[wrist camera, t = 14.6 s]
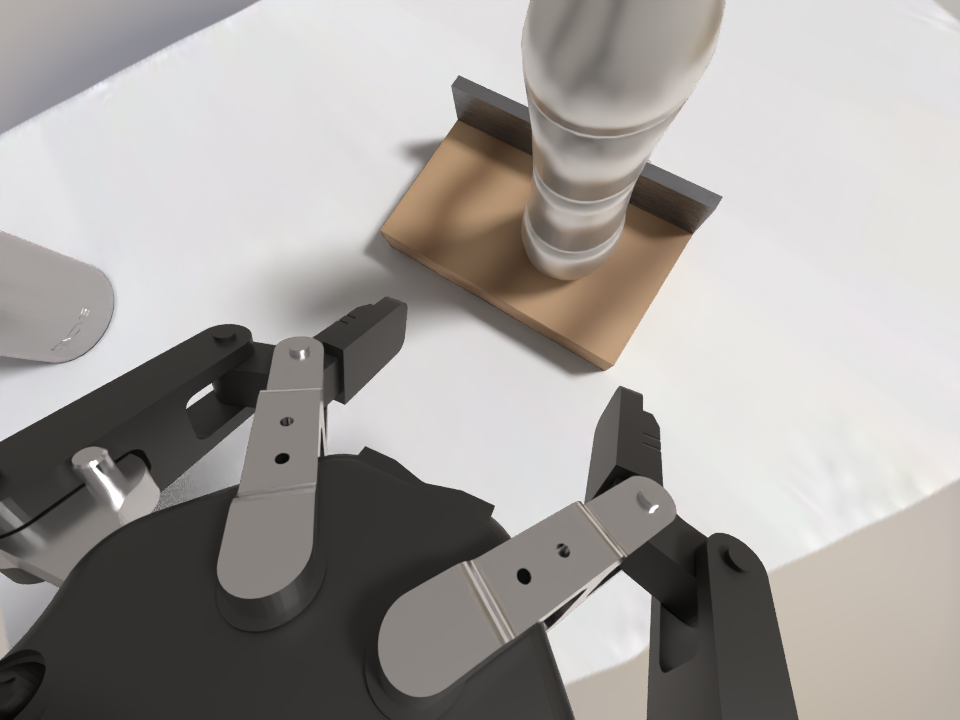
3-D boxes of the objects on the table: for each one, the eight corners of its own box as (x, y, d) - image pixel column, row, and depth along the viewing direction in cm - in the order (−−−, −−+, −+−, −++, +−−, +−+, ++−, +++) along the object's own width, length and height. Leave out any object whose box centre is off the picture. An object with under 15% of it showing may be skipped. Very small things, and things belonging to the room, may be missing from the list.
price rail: (457, 119, 30) (451, 85, 27) (468, 104, 30) (463, 69, 27) (692, 234, 26) (715, 209, 23) (703, 215, 26) (727, 189, 23)
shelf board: (390, 245, 31) (380, 230, 28) (468, 134, 32) (464, 110, 30) (605, 370, 27) (613, 365, 25) (683, 240, 28) (699, 222, 26)
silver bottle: (625, 219, 27) (912, -373, 7) (594, 303, 26) (825, -113, 6) (540, 195, 28) (585, -375, 8) (507, 274, 27) (468, -156, 7)
